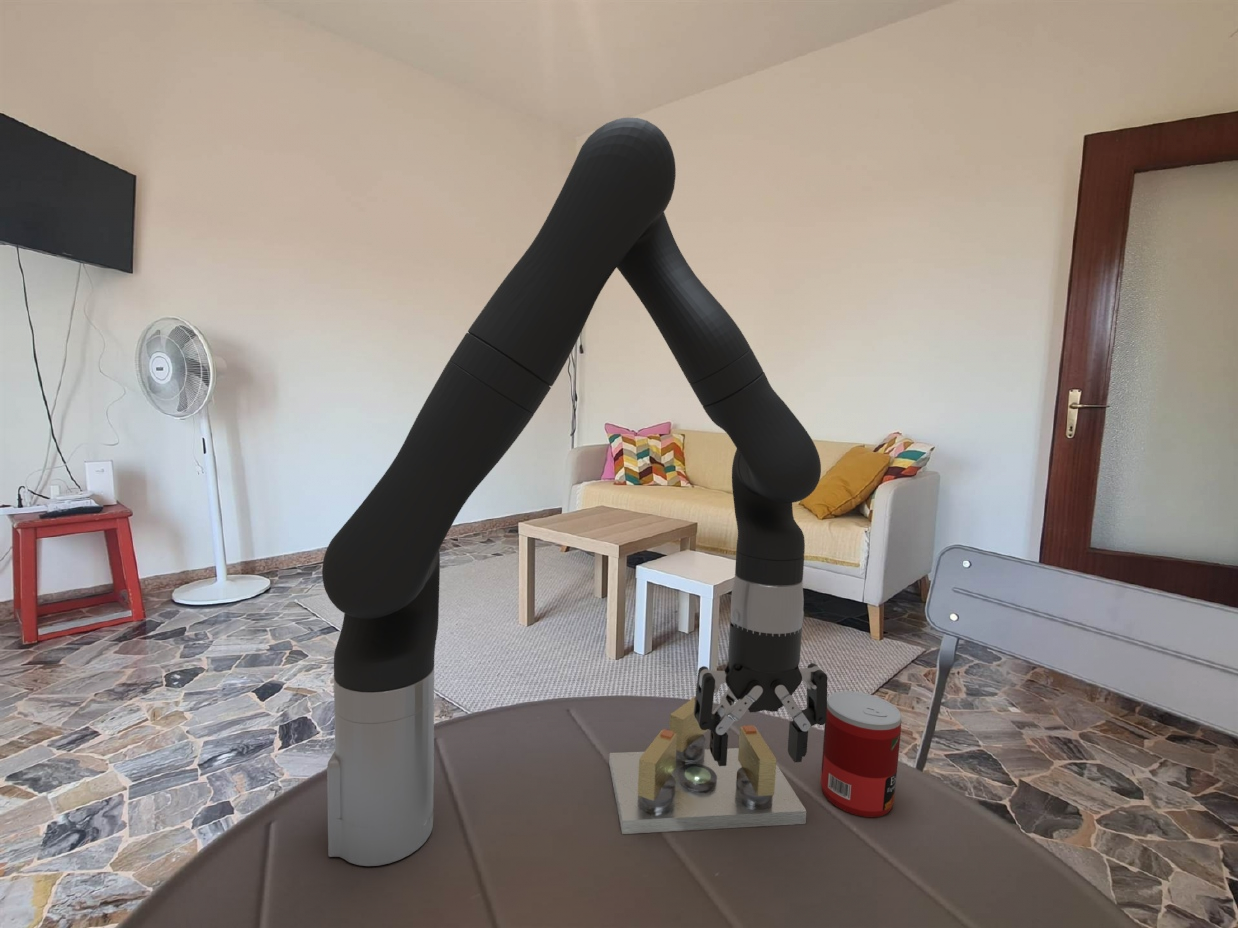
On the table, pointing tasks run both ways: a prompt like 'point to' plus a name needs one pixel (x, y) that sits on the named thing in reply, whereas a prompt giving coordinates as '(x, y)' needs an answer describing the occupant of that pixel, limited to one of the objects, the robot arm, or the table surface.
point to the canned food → (860, 753)
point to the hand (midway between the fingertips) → (757, 759)
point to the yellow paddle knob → (688, 735)
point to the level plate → (700, 798)
